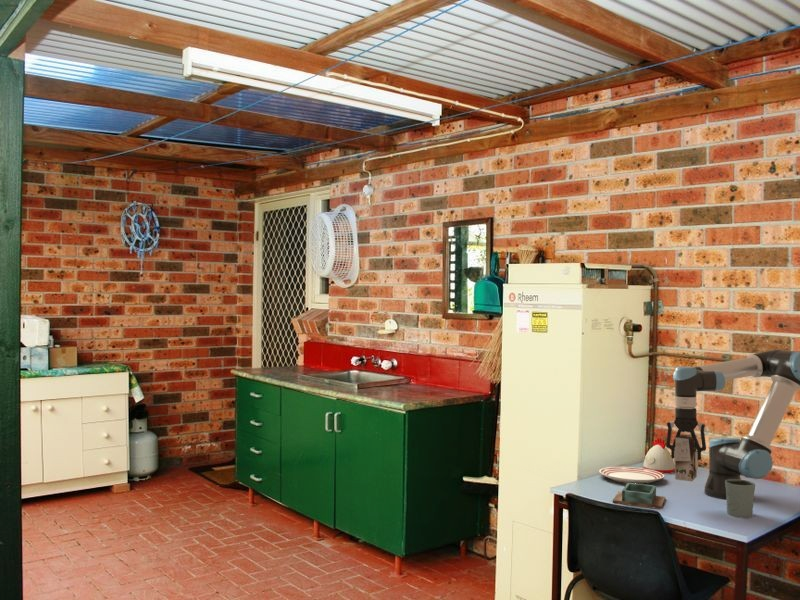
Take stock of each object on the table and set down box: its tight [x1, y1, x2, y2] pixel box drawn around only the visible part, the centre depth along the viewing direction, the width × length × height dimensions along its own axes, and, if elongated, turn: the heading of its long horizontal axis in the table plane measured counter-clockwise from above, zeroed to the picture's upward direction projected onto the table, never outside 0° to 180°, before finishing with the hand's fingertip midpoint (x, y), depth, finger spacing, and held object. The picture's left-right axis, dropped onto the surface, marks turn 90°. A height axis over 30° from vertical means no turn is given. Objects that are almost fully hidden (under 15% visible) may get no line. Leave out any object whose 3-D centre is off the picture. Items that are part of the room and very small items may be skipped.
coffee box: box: [674, 433, 698, 482], centre depth 282 cm, size 9×6×16 cm
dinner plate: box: [598, 466, 665, 485], centre depth 327 cm, size 27×27×3 cm
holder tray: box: [612, 483, 666, 509], centre depth 291 cm, size 18×15×5 cm
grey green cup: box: [725, 479, 756, 519], centre depth 273 cm, size 10×10×12 cm
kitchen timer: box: [642, 437, 675, 474], centre depth 344 cm, size 14×14×15 cm
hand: (686, 467), depth 282 cm, fingers closed on coffee box, 7 cm apart
